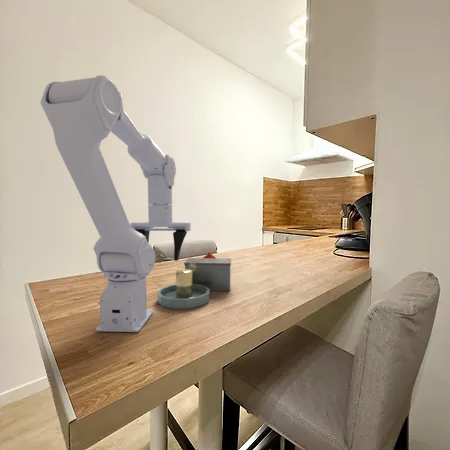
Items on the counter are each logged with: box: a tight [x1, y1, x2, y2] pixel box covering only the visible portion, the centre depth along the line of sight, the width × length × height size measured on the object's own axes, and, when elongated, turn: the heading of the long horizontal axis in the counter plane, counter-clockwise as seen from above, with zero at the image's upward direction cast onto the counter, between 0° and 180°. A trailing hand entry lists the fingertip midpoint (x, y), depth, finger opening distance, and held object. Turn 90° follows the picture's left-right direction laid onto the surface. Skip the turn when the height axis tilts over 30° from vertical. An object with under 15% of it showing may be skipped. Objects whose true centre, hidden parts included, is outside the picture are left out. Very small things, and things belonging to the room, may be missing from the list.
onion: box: [202, 251, 216, 258], centre depth 88 cm, size 6×6×8 cm
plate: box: [156, 284, 211, 310], centre depth 67 cm, size 12×12×2 cm
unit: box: [183, 257, 232, 292], centre depth 76 cm, size 6×12×8 cm, turn 88°
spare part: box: [175, 268, 193, 298], centre depth 67 cm, size 4×4×6 cm
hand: (161, 259), depth 68 cm, fingers open, 7 cm apart
